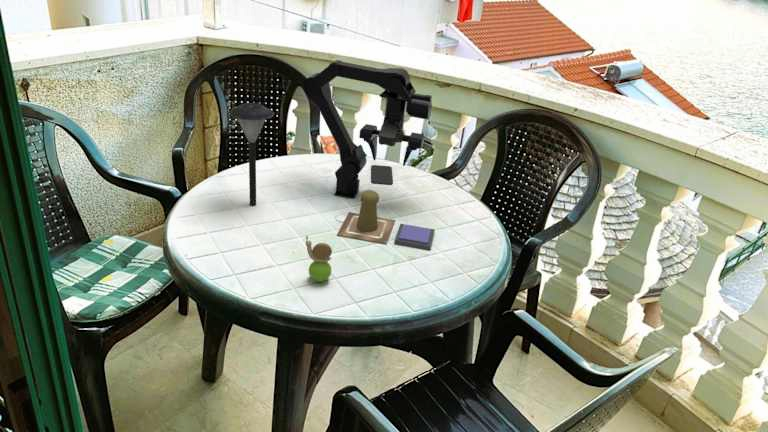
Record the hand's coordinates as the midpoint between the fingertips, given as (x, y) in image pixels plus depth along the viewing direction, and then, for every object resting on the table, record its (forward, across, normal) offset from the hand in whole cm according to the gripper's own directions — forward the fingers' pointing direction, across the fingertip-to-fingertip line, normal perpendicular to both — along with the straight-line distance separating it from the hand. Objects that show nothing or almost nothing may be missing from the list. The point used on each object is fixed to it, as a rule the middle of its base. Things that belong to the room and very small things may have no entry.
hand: (389, 162), depth 175 cm
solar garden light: (+13, -36, -19) cm, 43 cm away
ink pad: (+13, +13, -19) cm, 27 cm away
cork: (+13, -1, -19) cm, 23 cm away
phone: (+14, -6, +19) cm, 24 cm away
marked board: (+13, -1, -19) cm, 23 cm away
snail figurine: (+13, -5, -48) cm, 50 cm away
